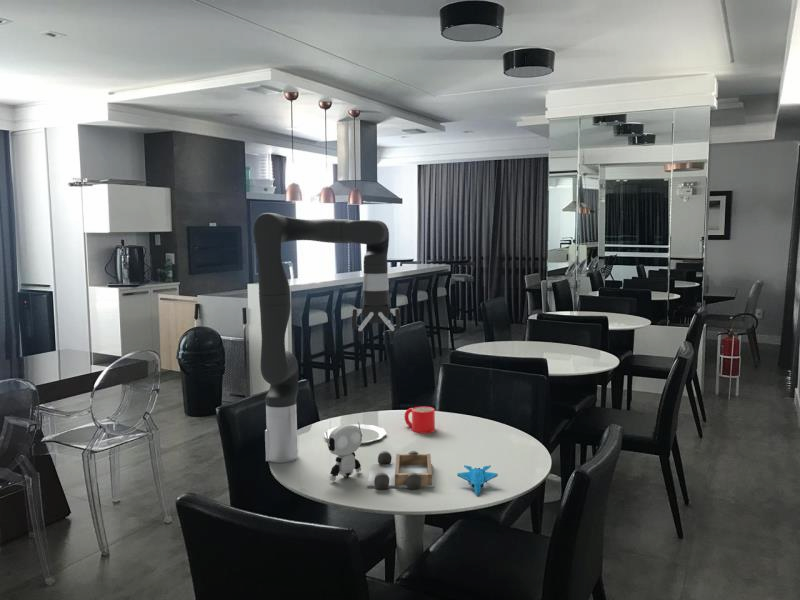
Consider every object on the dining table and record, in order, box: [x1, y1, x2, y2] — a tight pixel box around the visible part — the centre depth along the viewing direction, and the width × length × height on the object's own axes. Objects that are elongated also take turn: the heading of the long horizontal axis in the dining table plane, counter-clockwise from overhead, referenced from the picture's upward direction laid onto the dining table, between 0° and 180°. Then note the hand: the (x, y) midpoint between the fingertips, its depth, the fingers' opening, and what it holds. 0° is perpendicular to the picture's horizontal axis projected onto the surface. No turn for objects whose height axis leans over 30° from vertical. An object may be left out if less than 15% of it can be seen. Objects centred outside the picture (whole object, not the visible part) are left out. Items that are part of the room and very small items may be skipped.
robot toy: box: [325, 421, 363, 482], centre depth 185 cm, size 12×4×15 cm, turn 135°
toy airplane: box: [456, 464, 499, 497], centre depth 178 cm, size 12×10×4 cm
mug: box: [404, 406, 436, 434], centre depth 230 cm, size 8×12×8 cm, turn 55°
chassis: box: [366, 450, 435, 491], centre depth 186 cm, size 18×20×4 cm
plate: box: [323, 423, 387, 445], centre depth 224 cm, size 21×21×2 cm
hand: (376, 343), depth 195 cm, fingers open, 8 cm apart
